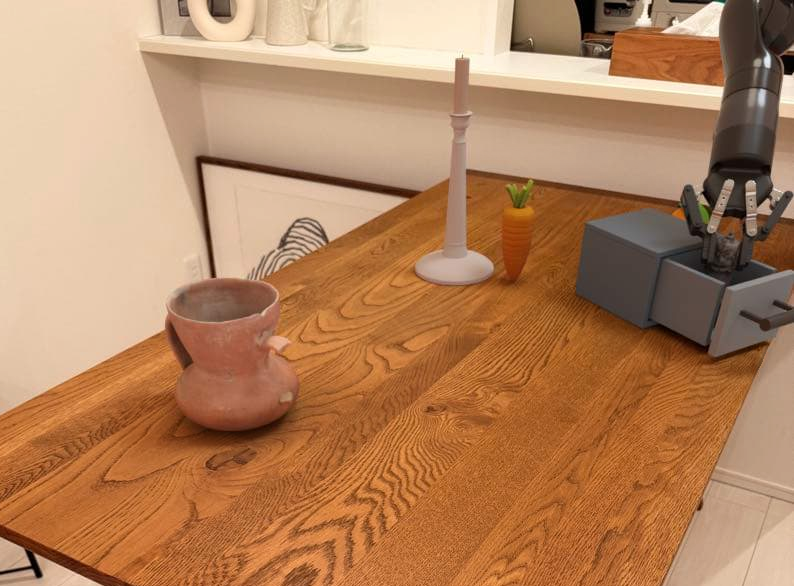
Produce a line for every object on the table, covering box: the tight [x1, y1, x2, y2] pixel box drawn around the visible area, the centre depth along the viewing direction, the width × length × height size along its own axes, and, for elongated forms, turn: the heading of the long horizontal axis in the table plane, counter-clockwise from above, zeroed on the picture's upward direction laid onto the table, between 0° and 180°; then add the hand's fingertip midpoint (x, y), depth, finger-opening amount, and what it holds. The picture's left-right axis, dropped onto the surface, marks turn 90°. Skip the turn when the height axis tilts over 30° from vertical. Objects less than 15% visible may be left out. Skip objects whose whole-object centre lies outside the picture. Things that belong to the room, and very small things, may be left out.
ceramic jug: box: [164, 277, 300, 432], centre depth 87 cm, size 18×14×14 cm
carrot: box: [501, 179, 536, 283], centre depth 116 cm, size 5×5×15 cm
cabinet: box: [574, 207, 726, 330], centre depth 111 cm, size 15×13×11 cm
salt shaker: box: [708, 229, 741, 328], centre depth 100 cm, size 6×6×12 cm
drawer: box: [648, 247, 794, 358], centre depth 100 cm, size 18×11×9 cm, turn 29°
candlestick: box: [414, 54, 495, 286], centre depth 115 cm, size 13×13×30 cm
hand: (724, 266), depth 97 cm, fingers closed on salt shaker, 3 cm apart
